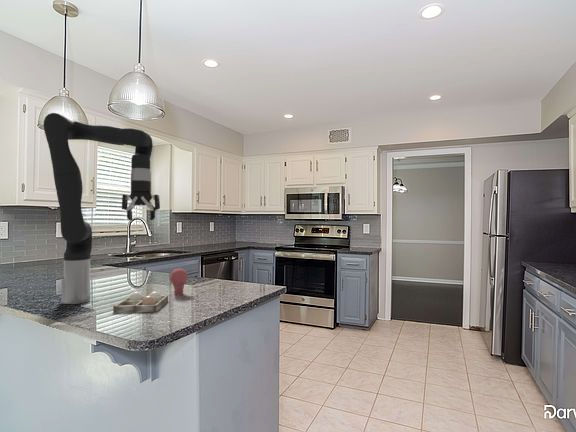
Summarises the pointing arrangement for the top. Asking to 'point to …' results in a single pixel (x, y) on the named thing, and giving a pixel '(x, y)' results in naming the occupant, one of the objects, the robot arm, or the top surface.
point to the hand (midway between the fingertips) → (141, 220)
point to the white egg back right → (155, 295)
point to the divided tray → (138, 306)
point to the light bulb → (178, 280)
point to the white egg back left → (136, 296)
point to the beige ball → (148, 300)
